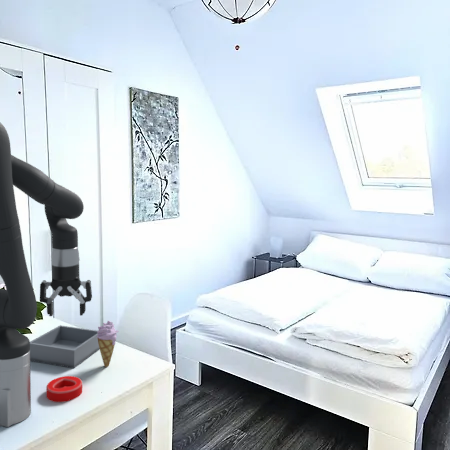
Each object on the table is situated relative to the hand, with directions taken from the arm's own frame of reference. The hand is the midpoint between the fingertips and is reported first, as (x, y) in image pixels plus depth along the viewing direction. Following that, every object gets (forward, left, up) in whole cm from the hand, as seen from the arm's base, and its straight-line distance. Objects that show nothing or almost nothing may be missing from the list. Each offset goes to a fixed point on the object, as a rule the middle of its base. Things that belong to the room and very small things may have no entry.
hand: (66, 314), depth 125 cm
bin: (+17, +12, -21) cm, 30 cm away
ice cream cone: (+13, -6, -21) cm, 26 cm away
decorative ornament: (-6, -3, -22) cm, 23 cm away
